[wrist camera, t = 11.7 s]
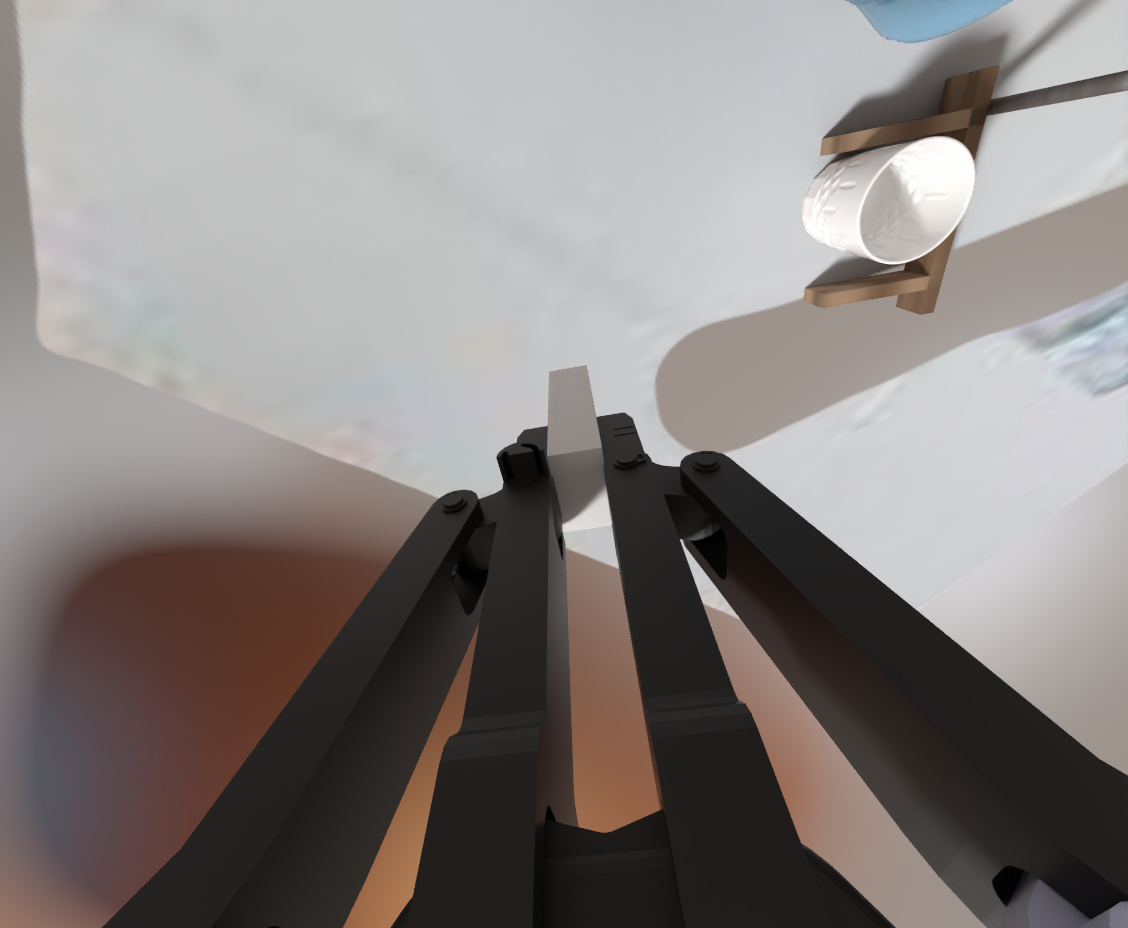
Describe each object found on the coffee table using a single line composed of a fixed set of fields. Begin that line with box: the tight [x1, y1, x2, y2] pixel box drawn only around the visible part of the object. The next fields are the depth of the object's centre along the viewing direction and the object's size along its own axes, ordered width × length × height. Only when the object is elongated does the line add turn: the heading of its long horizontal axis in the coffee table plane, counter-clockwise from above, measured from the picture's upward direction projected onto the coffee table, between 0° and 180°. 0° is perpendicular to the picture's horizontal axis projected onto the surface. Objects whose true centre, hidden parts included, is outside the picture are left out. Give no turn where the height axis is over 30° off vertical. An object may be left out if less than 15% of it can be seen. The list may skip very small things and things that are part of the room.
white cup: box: [802, 136, 976, 264], centre depth 35 cm, size 8×8×10 cm
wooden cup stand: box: [804, 65, 1128, 315], centre depth 33 cm, size 12×20×16 cm, turn 10°
